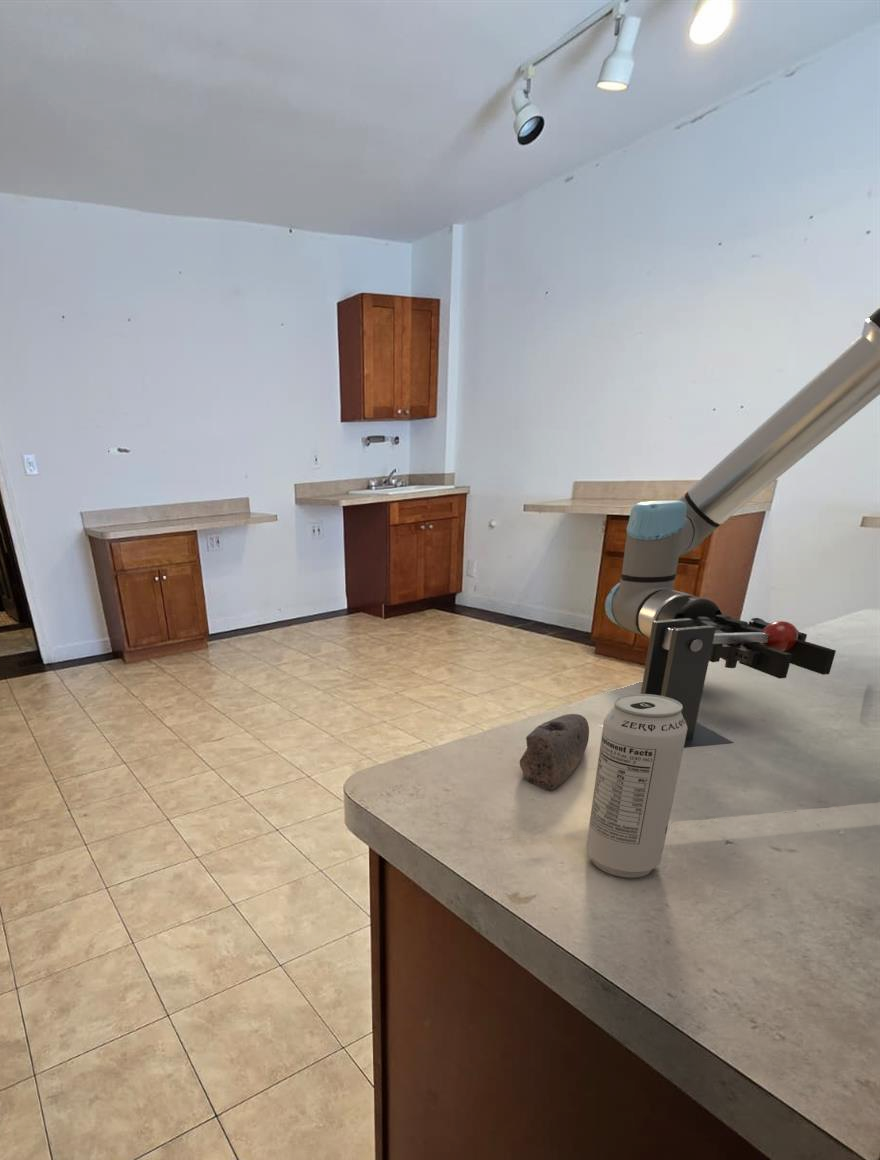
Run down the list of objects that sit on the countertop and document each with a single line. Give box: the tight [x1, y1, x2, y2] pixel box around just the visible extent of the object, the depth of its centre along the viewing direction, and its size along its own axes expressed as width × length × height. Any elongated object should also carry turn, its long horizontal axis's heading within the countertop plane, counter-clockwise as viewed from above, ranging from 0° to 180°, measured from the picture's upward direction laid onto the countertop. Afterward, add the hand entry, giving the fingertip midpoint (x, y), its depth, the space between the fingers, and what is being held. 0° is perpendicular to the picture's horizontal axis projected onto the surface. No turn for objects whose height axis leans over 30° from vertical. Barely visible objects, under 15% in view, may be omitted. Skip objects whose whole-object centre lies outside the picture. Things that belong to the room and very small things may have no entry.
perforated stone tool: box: [519, 713, 590, 792], centre depth 72 cm, size 15×5×7 cm, turn 139°
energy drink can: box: [585, 693, 687, 879], centre depth 54 cm, size 6×6×15 cm
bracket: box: [598, 618, 735, 749], centre depth 76 cm, size 12×9×15 cm
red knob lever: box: [662, 620, 799, 651], centre depth 74 cm, size 15×4×4 cm, turn 94°
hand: (807, 664), depth 71 cm, fingers closed on red knob lever, 4 cm apart
